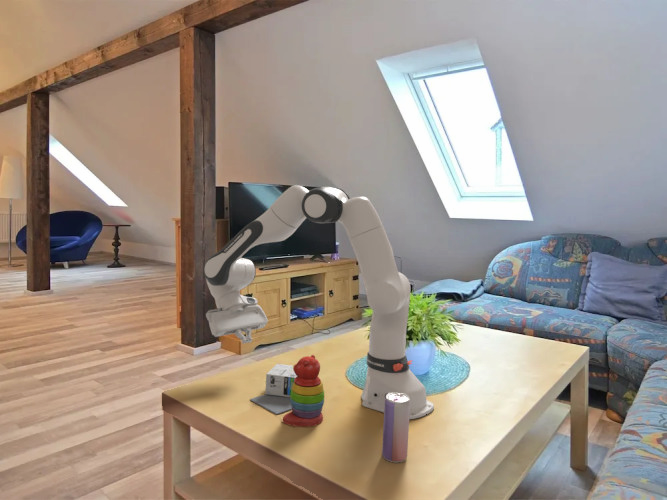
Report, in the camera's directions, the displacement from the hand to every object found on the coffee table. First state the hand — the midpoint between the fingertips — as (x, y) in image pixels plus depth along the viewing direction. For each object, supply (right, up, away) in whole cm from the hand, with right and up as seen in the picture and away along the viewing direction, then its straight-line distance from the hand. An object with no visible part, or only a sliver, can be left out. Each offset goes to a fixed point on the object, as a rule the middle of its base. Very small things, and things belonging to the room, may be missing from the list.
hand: (247, 342), depth 161 cm
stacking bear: (+20, -17, -23) cm, 35 cm away
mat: (+13, -15, -12) cm, 23 cm away
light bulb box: (+8, -10, -4) cm, 14 cm away
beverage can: (+42, -20, -42) cm, 63 cm away
